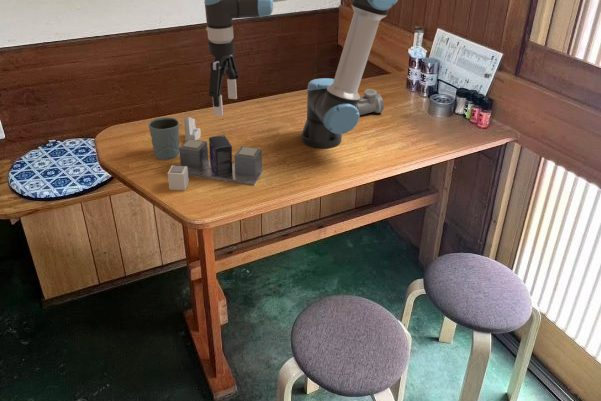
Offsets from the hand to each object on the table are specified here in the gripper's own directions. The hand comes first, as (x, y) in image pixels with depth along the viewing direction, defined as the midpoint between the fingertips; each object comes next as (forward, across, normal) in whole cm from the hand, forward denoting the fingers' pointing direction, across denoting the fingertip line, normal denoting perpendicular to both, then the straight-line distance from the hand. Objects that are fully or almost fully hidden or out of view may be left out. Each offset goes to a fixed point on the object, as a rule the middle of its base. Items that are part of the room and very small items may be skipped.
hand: (225, 106), depth 176 cm
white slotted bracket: (+23, -18, -21) cm, 36 cm away
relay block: (+22, +15, -12) cm, 29 cm away
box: (+22, +3, -2) cm, 22 cm away
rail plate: (+23, +3, -2) cm, 23 cm away
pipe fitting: (+24, -59, +39) cm, 75 cm away
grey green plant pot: (+22, -4, -25) cm, 34 cm away
